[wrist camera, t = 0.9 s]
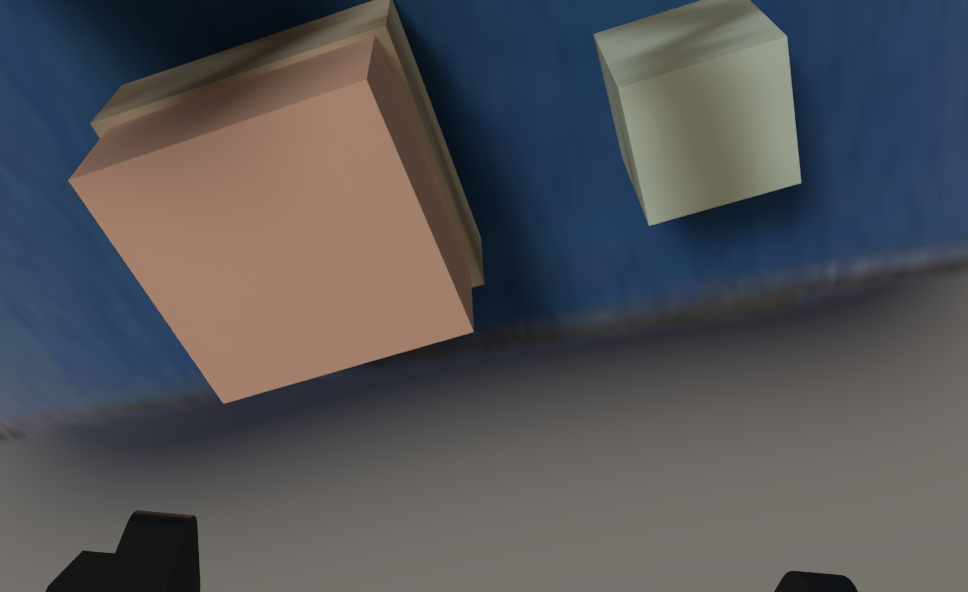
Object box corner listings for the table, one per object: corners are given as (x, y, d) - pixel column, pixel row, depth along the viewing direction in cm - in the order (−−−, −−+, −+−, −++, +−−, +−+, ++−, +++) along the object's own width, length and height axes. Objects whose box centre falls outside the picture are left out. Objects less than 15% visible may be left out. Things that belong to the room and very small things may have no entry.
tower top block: (374, 35, 28) (366, 79, 25) (470, 270, 34) (474, 331, 30) (109, 127, 30) (68, 180, 26) (243, 338, 35) (223, 403, 32)
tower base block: (391, -10, 31) (385, 25, 28) (480, 233, 37) (484, 284, 34) (125, 80, 33) (90, 123, 29) (253, 299, 39) (236, 354, 36)
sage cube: (737, -13, 31) (786, 36, 27) (754, 119, 34) (801, 182, 30) (593, 33, 32) (618, 87, 28) (622, 158, 35) (649, 225, 31)
